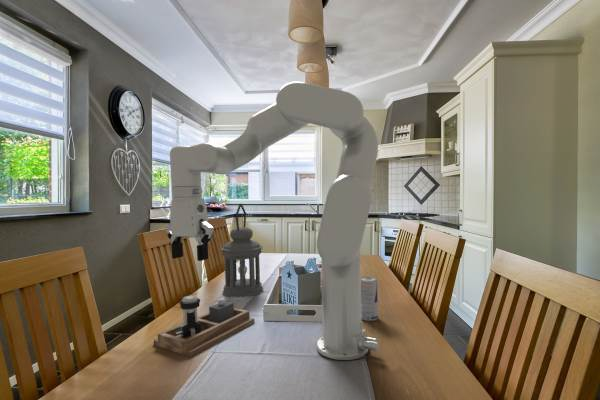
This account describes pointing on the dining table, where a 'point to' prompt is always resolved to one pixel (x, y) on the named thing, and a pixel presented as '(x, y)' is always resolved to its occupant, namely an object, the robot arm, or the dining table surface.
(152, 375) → the dining table surface
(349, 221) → the robot arm
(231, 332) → the brown wooden divided tray
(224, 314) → the plug block
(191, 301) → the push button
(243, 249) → the lantern
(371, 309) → the energy drink
